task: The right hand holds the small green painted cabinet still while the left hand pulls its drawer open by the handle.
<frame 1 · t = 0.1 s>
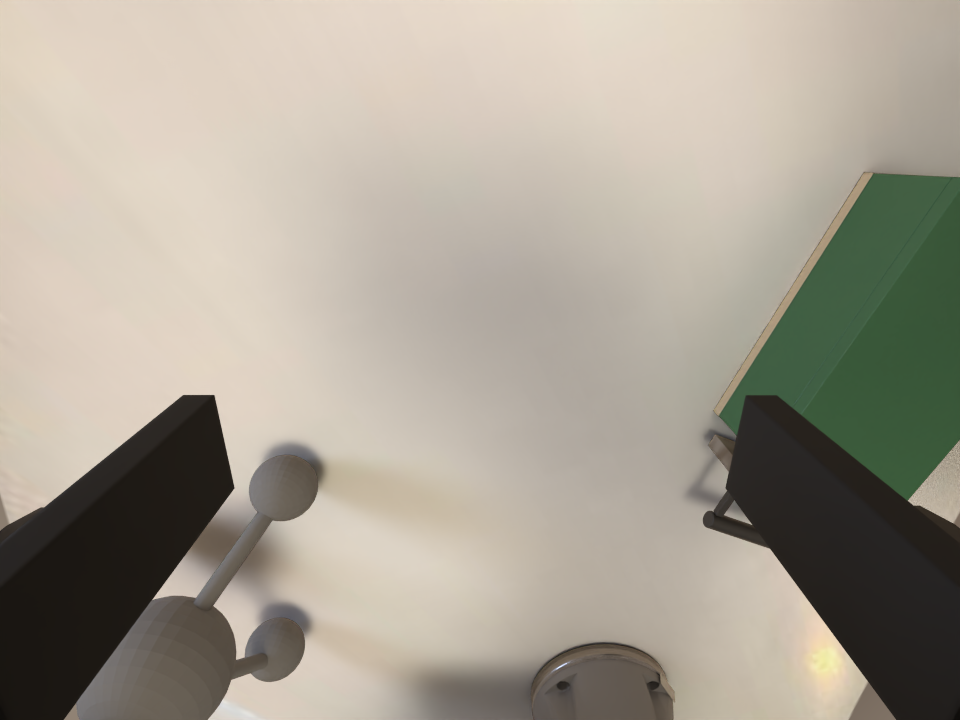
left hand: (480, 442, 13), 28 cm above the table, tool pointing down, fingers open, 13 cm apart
molecular model: (253, 526, 49), on the table
drawer: (828, 417, 39), point 4 cm above the table, slide at 1.6 cm
cabinet: (842, 327, 41), on the table
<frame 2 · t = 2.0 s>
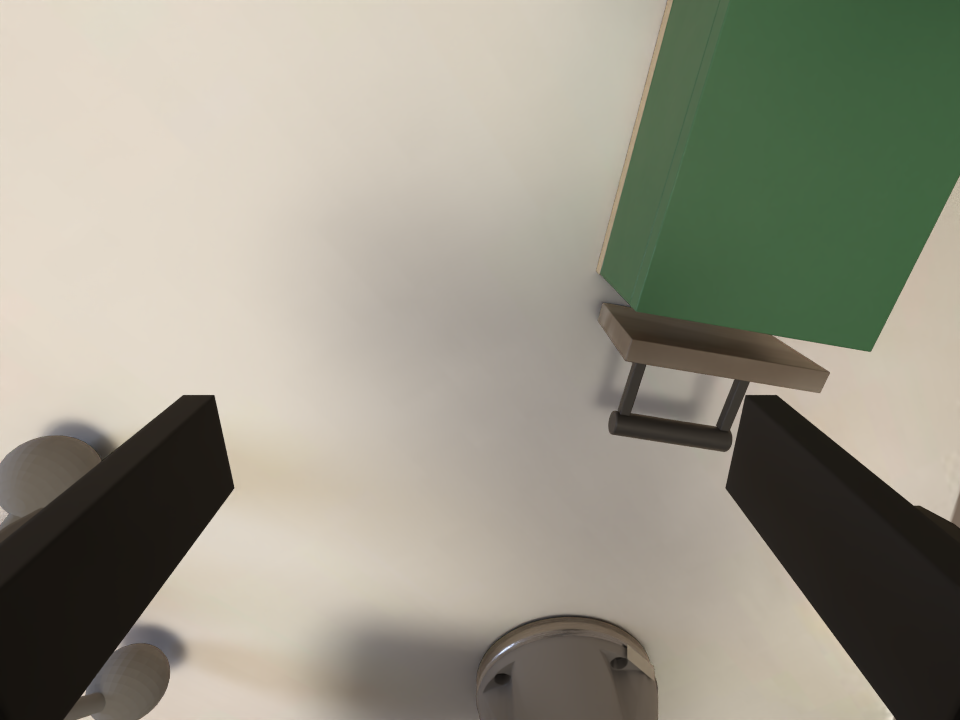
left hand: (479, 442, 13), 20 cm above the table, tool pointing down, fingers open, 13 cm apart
molecular model: (66, 536, 39), on the table
drawer: (743, 231, 26), point 4 cm above the table, slide at 1.6 cm
cabinet: (749, 100, 27), on the table
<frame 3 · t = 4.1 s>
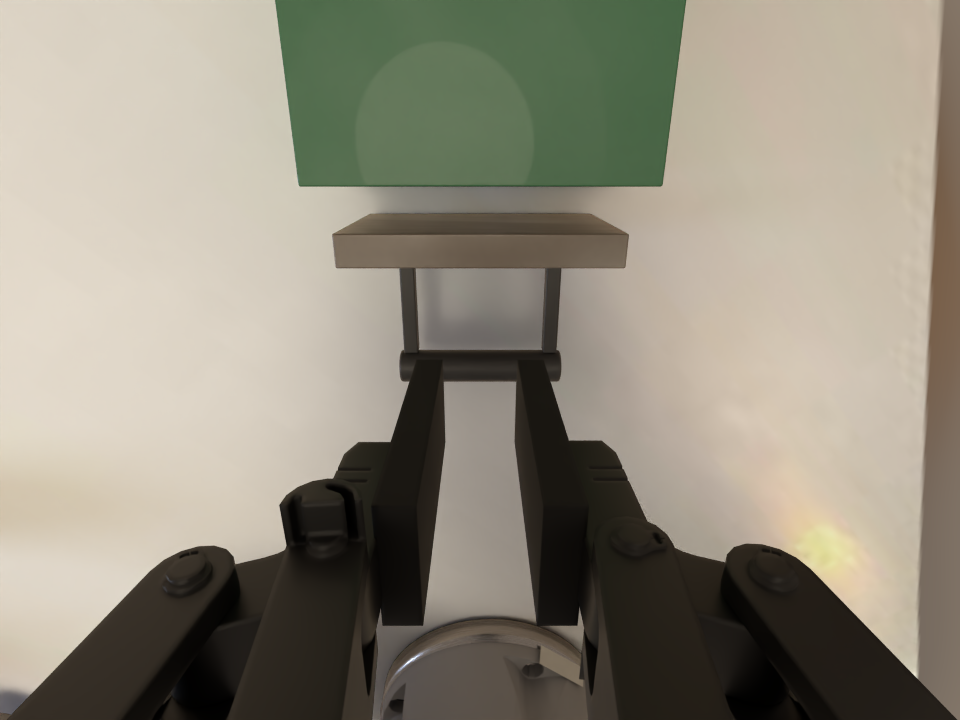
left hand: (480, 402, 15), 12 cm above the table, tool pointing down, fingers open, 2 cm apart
drawer: (480, 62, 18), point 4 cm above the table, slide at 1.6 cm
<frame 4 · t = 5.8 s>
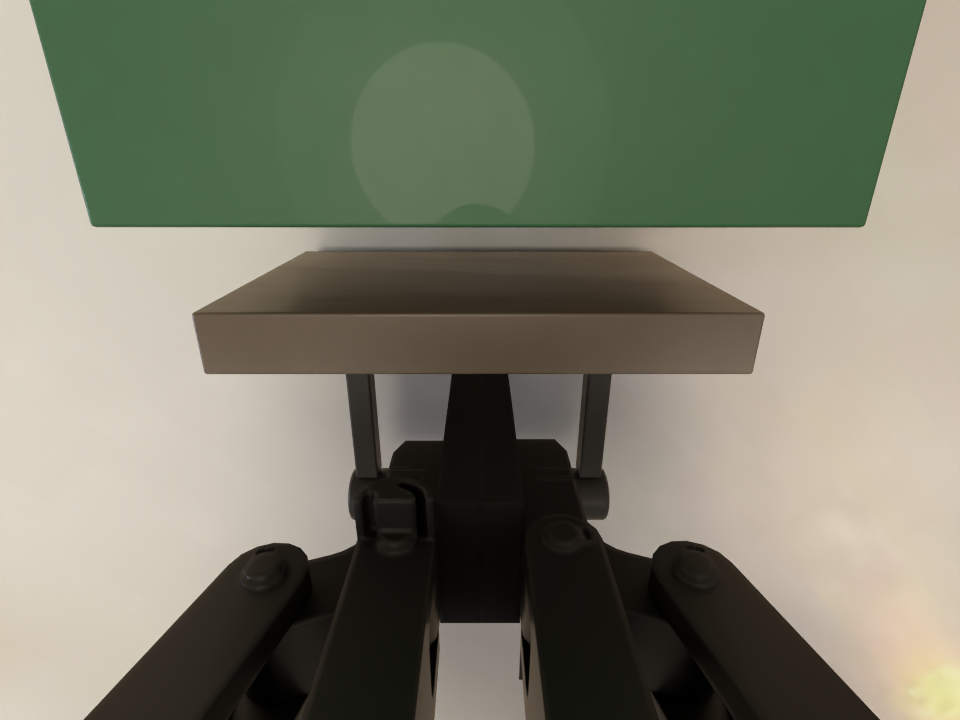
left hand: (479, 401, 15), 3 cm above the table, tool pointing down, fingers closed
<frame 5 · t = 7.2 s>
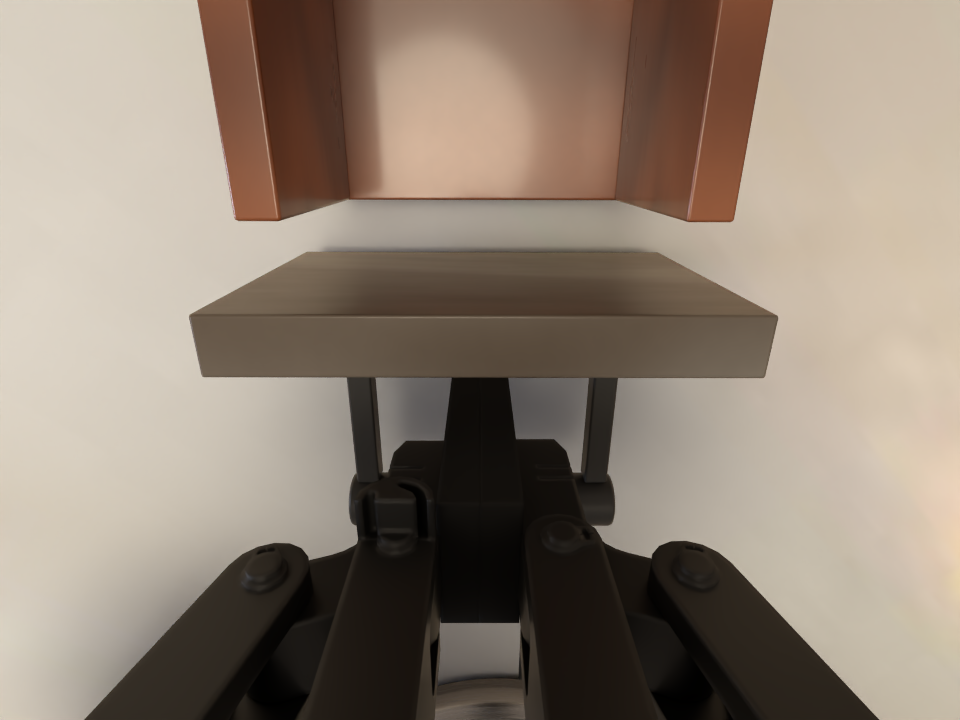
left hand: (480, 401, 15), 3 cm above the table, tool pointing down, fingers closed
when the right hand's fingers open (4 cm above the table, at t = 9.0 s): cabinet stays where it is, on the table.
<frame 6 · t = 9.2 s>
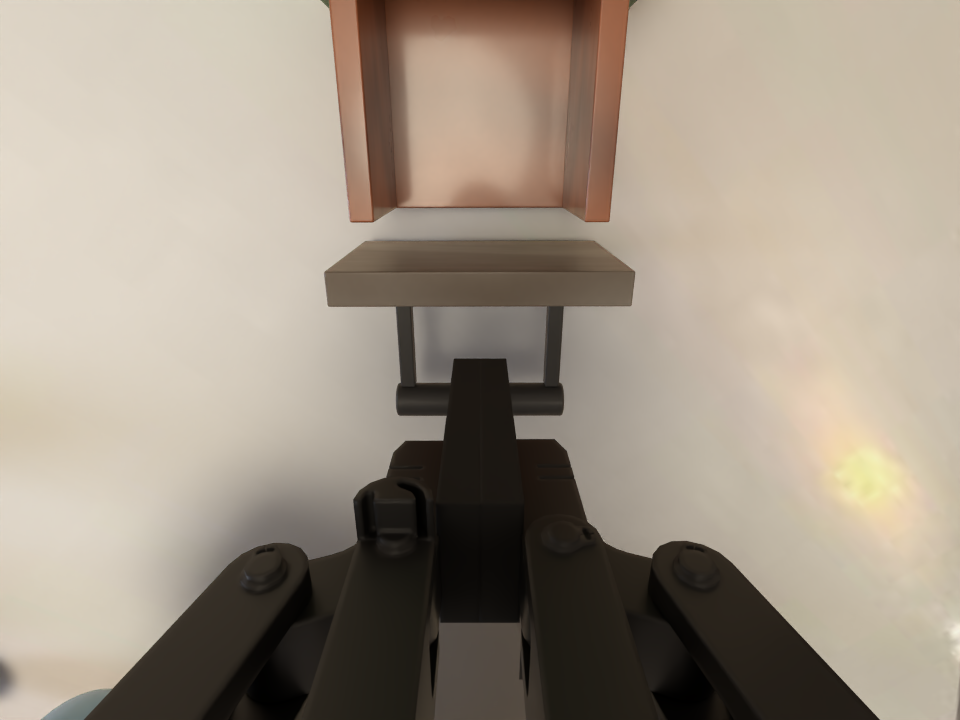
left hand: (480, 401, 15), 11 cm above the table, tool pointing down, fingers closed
drawer: (479, 90, 18), point 4 cm above the table, slide at 8.7 cm
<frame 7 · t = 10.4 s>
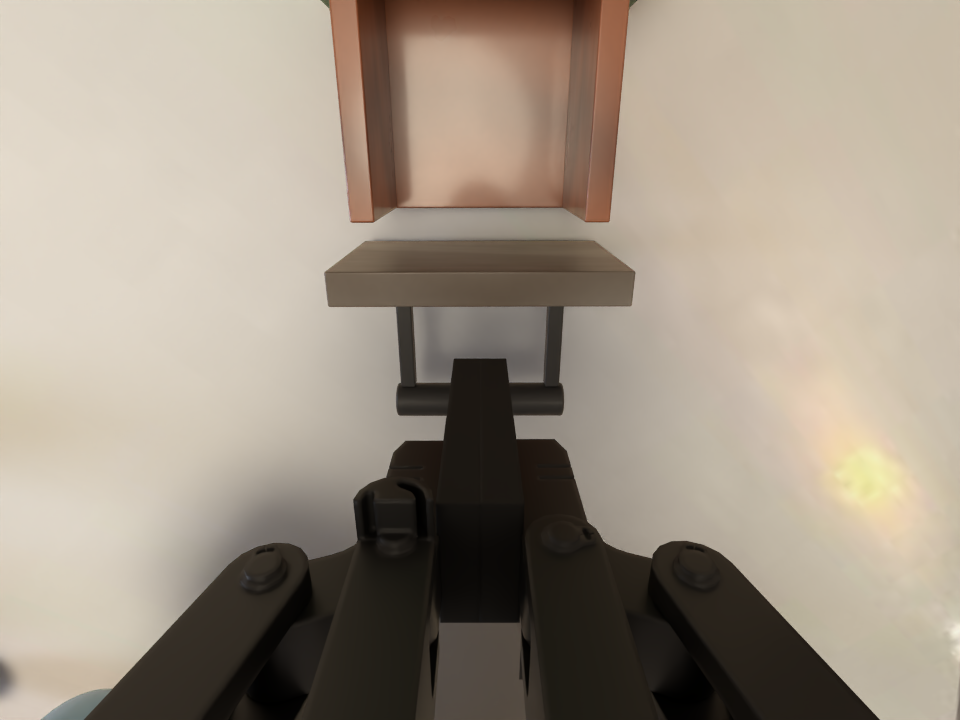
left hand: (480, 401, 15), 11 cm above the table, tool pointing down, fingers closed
drawer: (479, 90, 18), point 4 cm above the table, slide at 8.7 cm
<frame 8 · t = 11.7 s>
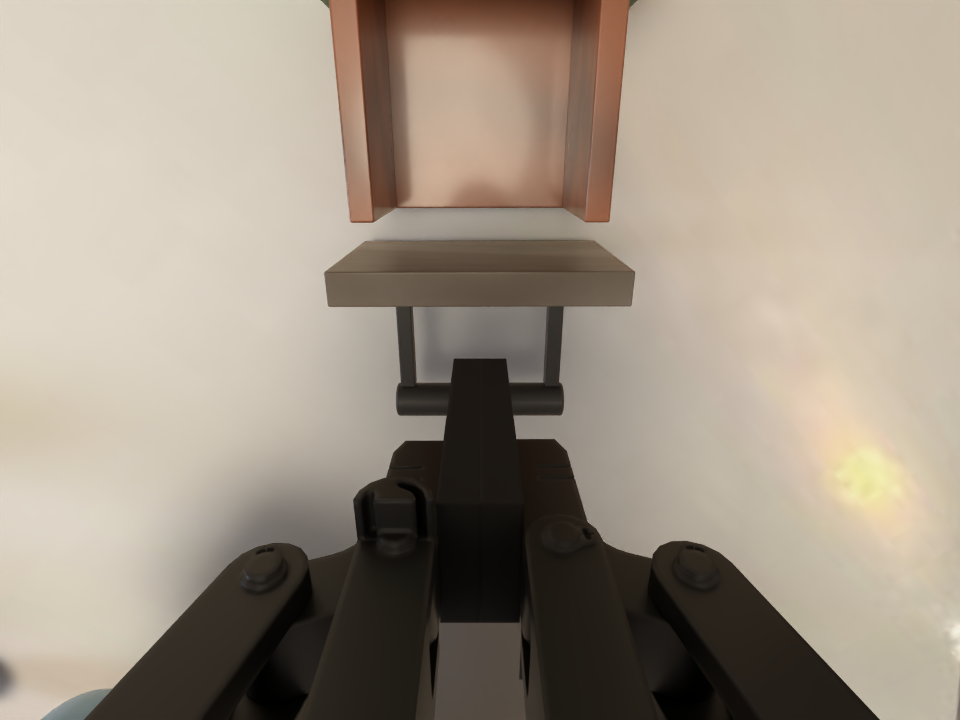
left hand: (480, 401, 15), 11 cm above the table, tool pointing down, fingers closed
drawer: (479, 90, 18), point 4 cm above the table, slide at 8.7 cm
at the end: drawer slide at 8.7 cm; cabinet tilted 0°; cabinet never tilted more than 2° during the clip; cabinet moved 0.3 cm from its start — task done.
